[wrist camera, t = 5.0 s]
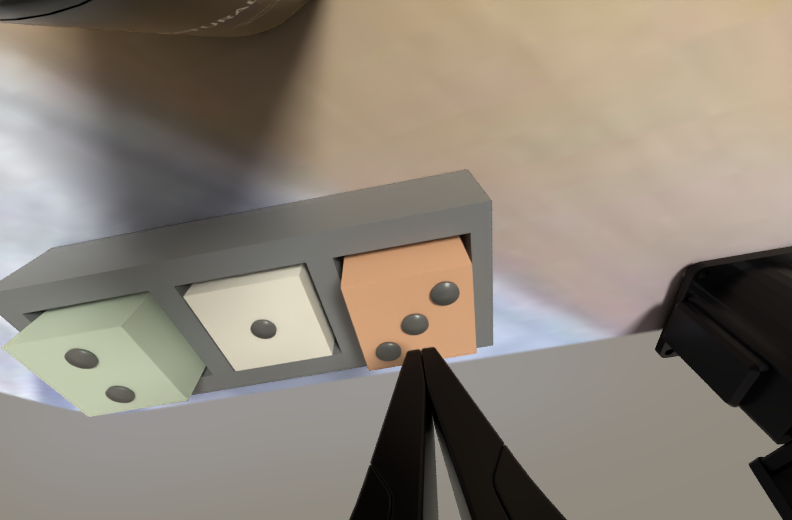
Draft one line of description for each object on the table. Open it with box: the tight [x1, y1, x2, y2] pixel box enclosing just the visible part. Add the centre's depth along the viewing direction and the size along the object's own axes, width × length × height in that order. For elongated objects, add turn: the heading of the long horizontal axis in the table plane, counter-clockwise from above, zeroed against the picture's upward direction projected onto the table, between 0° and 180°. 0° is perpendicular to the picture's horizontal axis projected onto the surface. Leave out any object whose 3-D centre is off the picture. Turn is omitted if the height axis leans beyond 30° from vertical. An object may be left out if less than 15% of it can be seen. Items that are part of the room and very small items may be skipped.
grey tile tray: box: [0, 169, 493, 395], centre depth 13 cm, size 17×7×3 cm, turn 100°
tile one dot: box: [183, 263, 335, 371], centre depth 13 cm, size 4×4×3 cm
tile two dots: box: [1, 291, 206, 417], centre depth 12 cm, size 4×4×3 cm
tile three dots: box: [341, 235, 477, 371], centre depth 12 cm, size 4×4×3 cm
